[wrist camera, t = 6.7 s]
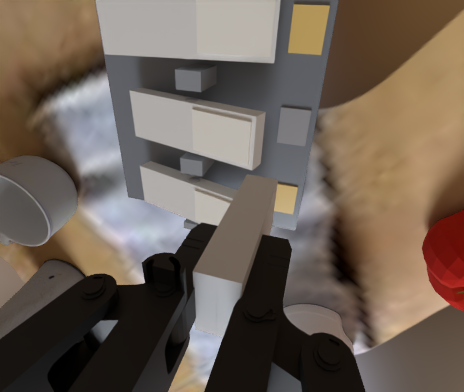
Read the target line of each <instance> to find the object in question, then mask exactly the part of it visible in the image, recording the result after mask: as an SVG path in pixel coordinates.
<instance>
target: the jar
mask: <svg viewBox="0 0 464 392" xmlns="http://www.w3.org/2000/svg"><path fill="white" fill-rule="evenodd" d="M283 310H284V313H285V315H286V317H287V318H288V319H289V321H290V322H291V323H292V324H293V325H295V326H296V327H297V328H299V329H300V330H302V331H304V332H305V333H307V334H309V335H312V334H313V333H321V332H324V333H328V334H332V335H334V336H336V337H337V338H339V339H341V340H342V341H343V342H344V343H345V344H346V345H347V346H348V347H349V348H350V349H351V351H352V353H353V355H354V349H353V344H352V342H351V341H350V340H349V339H348V337H347V336H346V335H345V333H344V331H343V328H342V320H341V318H340V315H339V314H338V313H336V312H334V311H332V310H330V309H327V308H325V307H321V306H317V305H312V304H296V305H291V306H288V307H285V308H283Z"/></svg>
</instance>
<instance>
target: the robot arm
mask: <svg viewBox="0 0 464 392" xmlns="http://www.w3.org/2000/svg"><path fill="white" fill-rule="evenodd" d="M277 185H278V179H272V178H266V177H260V176H254V175H248V174H247V175H246V177H245V178H244V180H243V182H242V184H241V186H240V187H239V189H238V191H237V193H236V195H235V196H234V198H233V200H232V202H231V204H230V205H229V207H228V209H227V211H226V212H225V214H224V216H223V218H222V220H221V221H220V223H219V225H218V226H217V225H212V224H207V223H202V222H201V223H200V224H198V225H197V226H195V227H194V228H192V229H191V231H190V232H189V234H188V235H187V237H186V239H185V240H184V241H183V243H182V245H181V246H180V247H179V249H178V250H177V252H176V253H175V254H173V253H159V254H155V255H152V256H150V257H148V258H147V259H146V260H145V261H144V262H142V267H143V273H144V279H145V283H144V284H138V285H117V284H116V280H115V279H114V278H113V277H112V276H110V275H107V274H94V275H90V276H87V277H85V278H84V279H82V280H80V281H78V282H77V283H76V284H74V285H73V286H72V287H70V288H69V289H67V290H66V291H65V292H63V293H62V294H61V295H59V296H58V297H57V298H55V299H54V300H53V301H51V302H50V303H48V304H47V305H46V306H44V307H43V308H42V309H40V310H39V311H38V312H36V313H35V314H33V315H32V316H31V317H29V318H28V319H27V320H25V321H24V322H23V323H21V324H20V325H19V326H17V327H16V328H14V329H13V330H12V331H10V332H9V333H8V334H6V335H5V336H4V337H2V338H1V339H0V392H168V390H169V388H170V386H171V383H172V381H173V379H174V376H175V374H176V372H177V370H178V367H179V365H180V363H181V361H182V358H183V356H184V354H185V352H186V349H187V347H188V344H189V340H190V334H189V332H190V330H191V327H192V325H193V323H194V321H195V329H196V330H199V331H203V332H206V333H209V334H213V335H216V336H219V337H223V339H222V342H221V345H220V348H219V351H218V354H217V357H216V359H215V362H214V365H213V368H212V371H211V374H210V377H209V380H208V382H207V385H206V388H205V391H204V392H365V389H364V385H363V382H362V379H361V376H360V373H359V369H358V366H357V363H356V360H355V357H354V355H353V353H352V351H351V349H350V348H349V347H348V346H347V345H346V344H345V343H344V342H343V341H342V340H341V339H339V338H337V337H336V336H334V335H332V334H328V333H324V332H321V333H313V334H312V335H309V334H307V333H305V332H304V331H302V330H300V329H299V328H297V327H296V326H295V325H293V324H292V323H291V322H290V321H289V319H288V318H287V317H286V315H285V313H284V310H283V297H284V291H285V286H286V280H287V274H288V269H289V263H290V258H291V252H292V248H291V246H290V243H289V241H288V239H283V238H278V237H273V236H269V235H270V231H271V228H272V222H273V214H274V207H275V200H276V192H277Z"/></svg>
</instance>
